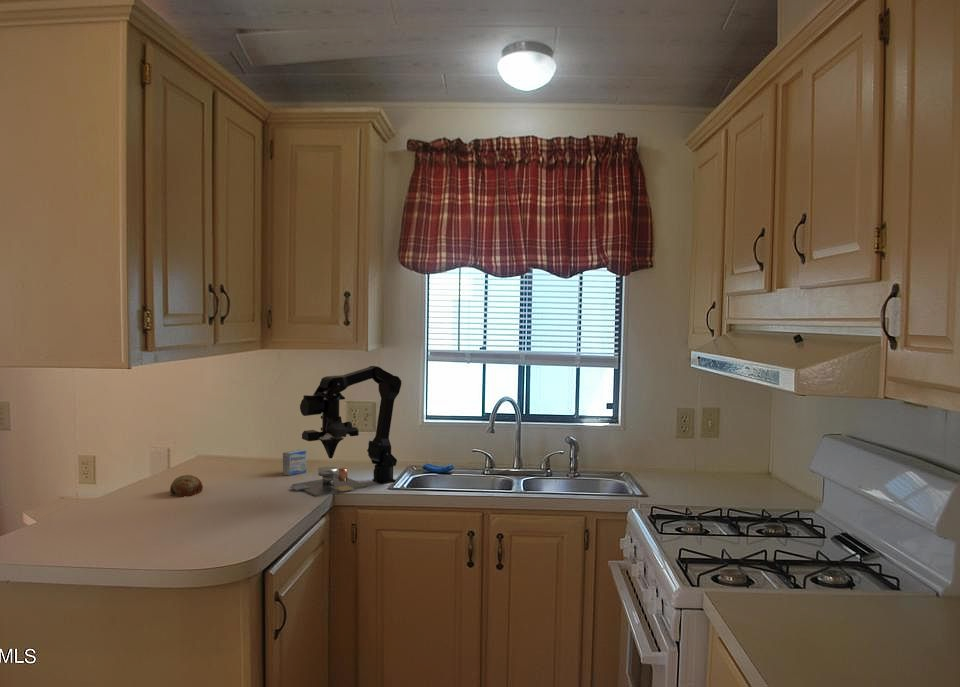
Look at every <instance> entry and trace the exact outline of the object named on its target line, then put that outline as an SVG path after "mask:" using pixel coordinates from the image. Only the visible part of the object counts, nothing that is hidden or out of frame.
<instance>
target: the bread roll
mask: <svg viewBox="0 0 960 687" xmlns="http://www.w3.org/2000/svg"><path fill="white" fill-rule="evenodd" d="M169 488H170V489H169V493H170V496H173V497H179V496H180V498H184V496H187V497H193V496H195V494H196V495H198V493H199V494H200V492H201V493H202V492H203V488H204V486H203V484H202V481H201V480H200V479H199V478H198V477H196V476H194V475H192V474H184V475H180V476H178V477H176V478H175V479H174V480H173V481H172V483H171V484H170V487H169ZM192 495H193V496H192Z"/></svg>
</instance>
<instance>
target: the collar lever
mask: <svg viewBox="0 0 960 687" xmlns="http://www.w3.org/2000/svg"><path fill="white" fill-rule="evenodd" d="M317 471H318V472H317V475H318V476H320V477H323V476H324V477H329V476H332V477H334V478H337V479H339V481H347V478H348V468H347V467H340V468H339V467H338V466H337V467H336V466H323V467H319V468H318V470H317Z"/></svg>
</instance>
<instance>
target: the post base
mask: <svg viewBox="0 0 960 687" xmlns="http://www.w3.org/2000/svg"><path fill="white" fill-rule="evenodd" d="M289 488H291V489H292V490H295V491H300V490H301V491H302V492H304V493H307V494H309V495H312V496H313V497H315V498H317V497H321V496H323V497H324V496H327V495H332V494H338V493H342V492H347V491H353V490H357V489H359V490H360V489H363V488H368V484H365V483H363V482H359V481H357V480H354V479H352V478H349V477H347V481H339V479H337V478H334V477H332V476H329V477H324V476H322V479H316V480H315V479H314V480H310V481H303V482H299V483H293V484H291V485H290V486H289Z"/></svg>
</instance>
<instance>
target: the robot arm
mask: <svg viewBox="0 0 960 687" xmlns="http://www.w3.org/2000/svg"><path fill="white" fill-rule="evenodd" d="M368 380H372V381H373V382H375V383H377V384H378V392H379V396H380V403H379V411H378V417H377V422H376V424H377V426H376V431H375V436H374V438H373V440H368V447H367V451H366V452H368V453H367V456H368V457H369V459H370V460H371V464H373V465H374V469H373V478H372V480H371V481H372V482H375V483H377V484H381V485H383V484H387V483H392V482H393V483H394V482H396V479H394V467H396V465H397V461H398V460H397V458H396V457H395V456H394V455H393V454H392V444H391V440H390V432H391V425H392V419H393V412H394V405H395V400H396V398H397V396H398V395H399V394H400V390H401V387H402V379H401V378H400V377H399V376H397V375H393V374H392V373H390V372H389V371H386V370H385V369H383V368H381V367H380V366H378V365H377V366H376V365H370V366H368V367H365V368H362V369H361V368H360V369H358V370H355V371H353V372H349V373H346V374H342V375H329V376H323V377H322V378H321V380H320V382H319V385H318V387H317V388H316V390H314V393H313V394H312V395H311V394H310V395H307V394H305V395H303V397H302V400H301V401H300V404H299V409H300V412H301V415H302V416H303V417H307V416H308V417H310V416H317V415H318V416H319V415H320V419H321V420H322V422H321V423H322V424H321V427H320V431H317V430H315V429H309V430H308V429H307V430H304V431H303V432H302V433H301V439H302V440H304V441H307V442H314V441H315V442H316V441H317V442H318V441H320V442H321V444H322V445H323V447H324V450H325V451H326V454H327V457H328V459H333V457H334V456H335V452H336V449H337V447H338V444H339V443H340V442H341V441H344V438H346V437H347V436H348V435H349V437H357V436H359V435H360V434H359V433H360V432H359V429H358V428H357V426H353V423H352V422H351V421H345V422H342V416H340V400H341V401H343V400H346V397H345V396H344V395H343V394H342V392H343V391H346V389H348V387H350V386H354V385H356V384H359V383H362V382H365V381H368ZM321 414H322V415H321Z"/></svg>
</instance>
